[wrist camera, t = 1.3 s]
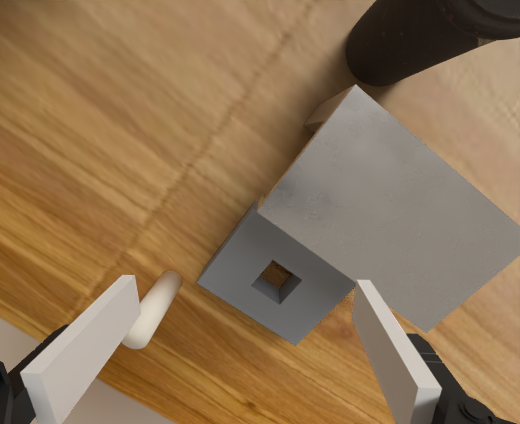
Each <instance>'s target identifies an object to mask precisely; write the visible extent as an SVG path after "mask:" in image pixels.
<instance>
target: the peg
mask: <svg viewBox="0 0 520 424" xmlns="http://www.w3.org/2000/svg"><path fill="white" fill-rule="evenodd" d="M181 285H182V277H181V276H180V275H179V274H178V273H177V272H175V271H165V272H164V273H163V274H162V275H161V276H160V277H159V279H158V280H157V281H156V283H155V284H154V285H153V287H152V288H151V289H150V291H149V292H148V293H147V294H146V296H145V297H144V298H143V300H142V301H141V302H140V310H141V315H140V316H139V317H138V319H137V320H136V322H135V323H134V324H133V326H132V327H131V329H130V330H129V331H128V333H127V334H126V336H125V337H124V338H123V340H122V341H121V342H122V343H123V344H124V345H125V346H127V347H129V348H132V349H141V348H144V347H145V346H146V345H147V344H148V342H149V341H150V339H151V337H152V335H153V334H154V332H155V330H156V328H157V327H158V325H159V323H160V322H161V320H162V318H163V316H164V315H165V313H166V311H167V310H168V308H169V306H170V304H171V303H172V301H173V299H174V297H175V296H176V294H177V292H178V291H179V289H180V287H181Z"/></svg>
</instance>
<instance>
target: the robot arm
mask: <svg viewBox="0 0 520 424" xmlns="http://www.w3.org/2000/svg"><path fill="white" fill-rule="evenodd" d="M140 315H141V310H140V304H139V298H138V292H137V286H136V280H135V275H122V276H121V277H120V278H119V279H118V280H117V281H116V282H114V283H113V284H112V285H111V286H110V287H109V288H108V289H107V290H106V291H105V292H104V293H103V294H102V295H101V296H100V297H99V298H98V299H97V300H96V301H95V302H94V303H92V304H91V305H90V306H89V307H88V308H87V309H86V310H85V311H84V312H83V313H82V314H81V315H80V316H79V317H78V318H77V319H76V320H75V321H74V322H73V323H72V324H70V325H64V326H62V327H61V328H59V329H58V330H56V331H54V332H53V333H52V334H51V335H50V336H48V337H47V338H46V339H45V340H44V341H43V343H41V344H40V345H39V346H38V347H36V349H35V350H34V351H32V352H31V353H30V354H29V355H28V356H27V357H26V358H24V359H23V360H22V361H21V362H20V363H19V364H18V365H17V366H16V367H15V368H13V369H12V370H11V371H10V372H9V373H8V374H7V371H6V369H5V366H4V363H3V362H1V361H0V424H30V423H31V421H32V420H33V419H34V418H35V417H36V419H37V422H38V424H62V423H63V421H64V420H65V419H66V417H67V416H68V415H69V413H70V412H71V411H72V409H73V408H74V406H75V405H76V404H77V402H78V401H79V399H80V398H81V396H82V395H83V394H84V392H85V391H86V390H87V388H88V387H89V385H90V384H91V382H92V381H93V380H94V379H95V377H96V376H97V374H98V373H99V372H100V370H101V369H102V367H103V366H104V365H105V363H106V362H107V361H108V359H109V358H110V356H111V355H112V354H113V352H114V351H115V349H116V348H117V347H118V345H119V344H120V342H121V341H122V340H123V338H124V337H125V336H126V334H127V333H128V331H129V330H130V329H131V327H132V326H133V324H134V323H135V322H136V320H137V319H138V317H139V316H140ZM352 321H353V324H354V326H355V328H356V331H357V333H358V335H359V338H360V340H361V342H362V345H363V347H364V349H365V352H366V354H367V356H368V359H369V361H370V363H371V366H372V368H373V371H374V373H375V375H376V378H377V380H378V382H379V385H380V387H381V389H382V392H383V394H384V396H385V399H386V401H387V403H388V406H389V408H390V410H391V413H392V415H393V417H394V420H395V422H396V424H516V423H513V422H510V421H506V420H503V419H501V418H498V417H496V416H495V415H494V414H493V412H492V411H490V410H489V409H488V408H487V407H486V406H485V405H484V404H482V403H481V402H479V401H477V400H476V399H473V398H471V397H469V396H468V395H467V394H466V393H465V391H464V390H463V389H462V387H461V386H460V385H459V383H458V382H457V381H456V379H455V378H454V377H453V375H452V374H451V373H450V371H449V370H448V368H447V367H446V366H445V364H444V363H442V360H441V359H440V358H439V356H438V355H436V352H435V351H434V350H433V348H432V347H431V346H430V344H429V343H428V342H427V341H426V340H424V339H423V338H422V337H421V336H419V335H418V334H406V333H405V332H404V331H403V329H402V328H401V326H400V325H399V323H398V322H397V320H396V319H395V317H394V315H393V314H392V312H391V311H390V309H389V308H388V306H387V305H386V303H385V302H384V300H383V299H382V297H381V296H380V294H379V293H378V291H377V290H376V288H375V287H374V285H373V284H372V282H371V281H370V280H356V287H355V296H354V304H353V312H352Z"/></svg>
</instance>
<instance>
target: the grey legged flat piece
mask: <svg viewBox="0 0 520 424" xmlns="http://www.w3.org/2000/svg"><path fill="white" fill-rule="evenodd" d="M304 125H305V126H306V127H307V128H308V129H310V130H311V131H312V132H313V133H315V134H314V135H313V137H312V138H311V139H310V141H309V142H308V143H307V144H306V146H305V147H304V148H303V150H302V151H301V152H300V153H299V155H298V156H297V157H296V159H295V160H294V161H293V163H292V164H291V165H290V166H289V168H288V169H287V170H286V172H285V173H284V174H283V176H282V177H281V178H280V179H279V181H278V182H277V183H276V185H275V186H274V187H273V188H272V190H271V191H270V192H269V194H268V195H267V196H265V195H263V196H262V197H261V199H260V200H259V202H258V208H257V212H258V213H259V214H260V215H262V216H263V217H265V218H266V219H267V220H269V221H270V222H272V223H273V224H274V225H276V226H277V227H279V228H280V229H281V230H283V231H284V232H286V233H287V234H288V235H290V236H291V237H293V238H294V239H295V240H297V241H298V242H300V243H301V244H302V245H304V246H305V247H307V248H308V249H309V250H311V251H312V252H314V253H315V254H316V255H318V256H319V257H321V258H322V259H323V260H325V261H326V262H328V263H329V264H330V265H332V266H333V267H335V268H336V269H337V270H339V271H340V272H342V273H343V274H344V275H346V276H347V277H349V278H350V279H351V280H353V281H354V282H356V280H370V281H371V282H372V284H373V285H374V287H375V288H376V290H377V291H378V293H379V294H380V296H381V297H382V299H383V300H384V302H385V303H386V305H388V306H389V307H390V308H392V309H393V310H395V311H396V312H397V313H399V314H400V315H402V316H403V317H404V318H406V319H407V320H409V321H410V322H411V323H413V324H414V325H416V326H417V327H418V328H420V329H421V330H423V331H424V332H425V333H427V332H428V331H430V330H431V329H432V328H433V327H434V326H435V325H437V324H438V323H439V322H440V321H441V320H443V319H444V318H445V317H446V316H447V315H449V314H450V313H451V312H452V311H453V310H455V309H456V308H457V307H458V306H459V305H461V304H462V303H463V302H464V301H465V300H467V299H468V298H469V297H470V296H471V295H473V294H474V293H475V292H476V291H477V290H479V289H480V288H481V287H482V286H483V285H485V284H486V283H487V282H488V281H489V280H491V279H492V278H493V277H494V276H495V275H497V274H498V273H499V272H500V271H501V270H503V269H504V268H505V267H506V266H507V265H509V264H510V263H511V262H512V261H513V260H515V259H516V258H517V257H518V256H519V255H520V226H519V225H518V224H517V223H516V222H514V221H513V220H512V219H511V218H510V217H509V216H507V215H506V214H505V213H504V212H503V211H502V210H501V209H499V208H498V207H497V206H496V205H495V204H494V203H492V202H491V201H490V200H489V199H488V198H487V197H485V196H484V195H483V194H482V193H481V192H480V191H479V190H477V189H476V188H475V187H474V186H473V185H472V184H470V183H469V182H468V181H467V180H466V179H465V178H463V177H462V176H461V175H460V174H459V173H458V172H457V171H455V170H454V169H453V168H452V167H451V166H450V165H448V164H447V163H446V162H445V161H444V160H443V159H441V158H440V157H439V156H438V155H437V154H436V153H435V152H433V151H432V150H431V149H430V148H429V147H428V146H426V145H425V144H424V143H423V142H422V141H421V140H419V139H418V138H417V137H416V136H415V135H414V134H413V133H411V132H410V131H409V130H408V129H407V128H406V127H404V126H403V125H402V124H401V123H400V122H399V121H397V120H396V119H395V118H394V117H393V116H392V115H391V114H389V113H388V112H387V111H386V110H385V109H384V108H382V107H381V106H380V105H379V104H378V103H377V102H375V101H374V100H373V99H372V98H371V97H370V96H369V95H367V94H366V93H365V92H364V91H363V90H362V89H360V88H359V87H358V86H357V85H356V84H355V85H354V86H352V87H350V88H348V89H346V90H345V91H343V92H341V93H339V94H337V95H335V96H334V97H332V98H330V99H328V100H326V101H325V102H323V103H321V104H319V105H318V106H317V108H316V109H315V110H314V112H313V113H312V114H311V116H310V117H309V118H308V120H307V121H306V122H305V124H304Z"/></svg>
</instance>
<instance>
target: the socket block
mask: <svg viewBox="0 0 520 424" xmlns="http://www.w3.org/2000/svg"><path fill="white" fill-rule="evenodd" d="M257 208H258V201H255V202H254V203H253V204H252V206H251V207H250V208H249V210H248V211H247V212H246V214H245V215H244V216H243V218H242V219H241V220H240V222H239V223H238V224H237V226H236V227H235V228H234V229H233V231H232V232H231V233H230V235H229V236H228V237H227V239H226V240H225V241H224V243H223V244H222V245H221V247H220V248H219V249H218V250H217V252H216V253H215V254H214V256H213V257H212V258H211V260H210V261H209V262H208V264H207V265H206V266H205V268H204V269H203V271H202V273H201V275H200V277H199V279H198V281H197V284H199V285H200V286H202V287H204V288H205V289H207V290H208V291H210V292H211V293H213V294H215V295H216V296H218V297H219V298H221V299H222V300H224V301H226V302H227V303H229V304H230V305H232V306H233V307H235V308H236V309H238V310H240V311H241V312H243V313H244V314H246V315H247V316H249V317H251V318H252V319H254V320H255V321H257V322H258V323H260V324H262V325H263V326H265V327H266V328H268V329H269V330H271V331H273V332H274V333H276V334H277V335H279V336H280V337H282V338H283V339H285V340H287V341H288V342H290V343H291V344H293V345H294V346H296V345H297V344H298V343H299V342H300V341H301V340H302V339H303V338H304V337H305V336H306V335H307V334H308V333H309V332H310V331H311V330H312V329H313V328H314V327H315V326H316V325H317V324H318V323H319V322H320V321H321V320H322V319H323V318H324V317H325V316H326V315H327V314H328V313H329V312H330V311H331V310H332V309H333V308H334V307H335V306H336V305H337V304H338V303H339V302H340V301H341V300H342V299H343V298H344V297H345V296H346V295H347V294H348V293H349V292H350V291H351V290H352V289H353V288H354V287H355V286H356V282H354V281H353V280H351V279H350V278H349V277H347V276H346V275H344V274H343V273H342V272H340V271H339V270H337V269H336V268H335V267H333V266H332V265H330V264H329V263H328V262H326V261H325V260H323V259H322V258H321V257H319V256H318V255H316V254H315V253H314V252H312V251H311V250H309V249H308V248H307V247H305V246H304V245H302V244H301V243H300V242H298V241H297V240H295V239H294V238H293V237H291V236H290V235H288V234H287V233H286V232H284V231H283V230H281V229H280V228H279V227H277V226H276V225H274V224H273V223H272V222H270V221H269V220H267V219H266V218H265V217H263V216H262V215H260V214H259V213H258V212H257ZM272 260H274V261H275V262H277V263H278V264H280V265H281V266H283V267H284V268H286V269H287V270H288V271H290V272H291V273H293V274H292V275H291V276H290V277H289V278H288V279H287V281H286V282H285V283H284V284H283V285H282V286H281V287H280V288H279V289H278V288H277V287H275V286H274V285H272V284H271V283H269V282H268V281H266V280H265V279H263V278H262V277H260V274H261V273H262V272H263V271H264V270H265V268H266V267H267V266H268V265H269V264H270V263H271V261H272Z"/></svg>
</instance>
